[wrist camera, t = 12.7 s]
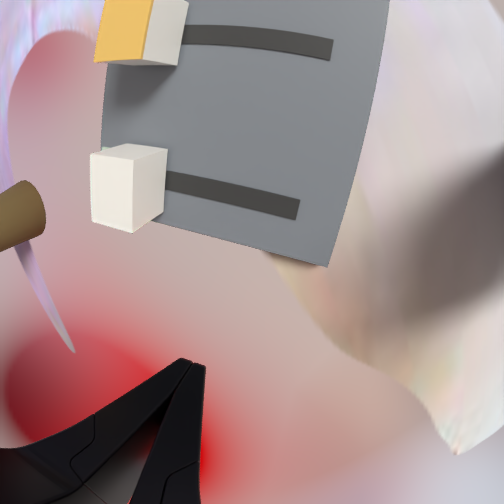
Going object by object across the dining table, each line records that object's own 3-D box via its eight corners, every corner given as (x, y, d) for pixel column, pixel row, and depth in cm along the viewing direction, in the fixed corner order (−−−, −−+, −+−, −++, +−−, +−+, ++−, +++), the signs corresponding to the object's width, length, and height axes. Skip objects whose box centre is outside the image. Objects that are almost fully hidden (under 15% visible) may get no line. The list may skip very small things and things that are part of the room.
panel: (392, -79, 8) (396, -91, 6) (327, 256, 19) (327, 268, 18) (160, -86, 10) (150, -94, 8) (113, 201, 21) (99, 208, 20)
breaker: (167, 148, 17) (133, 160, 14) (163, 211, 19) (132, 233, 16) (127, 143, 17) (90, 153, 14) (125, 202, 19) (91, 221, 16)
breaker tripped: (188, 3, 12) (155, -16, 9) (177, 65, 14) (140, 58, 11) (144, 6, 13) (106, -7, 10) (133, 65, 15) (93, 62, 11)
